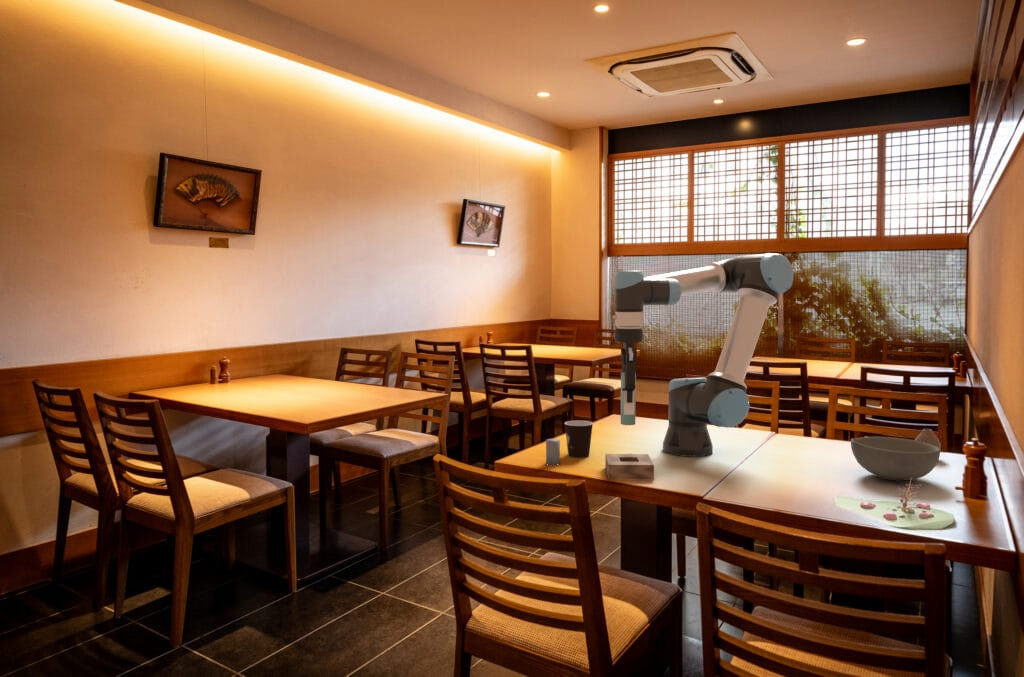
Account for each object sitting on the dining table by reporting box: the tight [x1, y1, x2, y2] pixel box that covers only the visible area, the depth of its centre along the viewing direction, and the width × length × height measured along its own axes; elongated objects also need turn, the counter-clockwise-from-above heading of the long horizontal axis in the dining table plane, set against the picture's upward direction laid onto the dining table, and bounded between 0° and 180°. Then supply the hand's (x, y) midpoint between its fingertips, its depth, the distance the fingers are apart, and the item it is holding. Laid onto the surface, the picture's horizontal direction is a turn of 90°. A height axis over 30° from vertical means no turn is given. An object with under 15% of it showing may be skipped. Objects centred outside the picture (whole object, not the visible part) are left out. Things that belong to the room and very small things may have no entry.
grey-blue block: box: [545, 438, 561, 466], centre depth 197 cm, size 4×4×7 cm
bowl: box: [850, 436, 941, 482], centre depth 178 cm, size 20×20×10 cm
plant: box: [833, 478, 955, 531], centre depth 152 cm, size 25×21×9 cm
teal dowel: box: [620, 372, 637, 426], centre depth 185 cm, size 4×4×14 cm
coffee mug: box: [564, 420, 594, 459], centre depth 208 cm, size 12×9×10 cm
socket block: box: [604, 453, 655, 481], centre depth 186 cm, size 12×12×4 cm
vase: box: [914, 428, 942, 452], centre depth 198 cm, size 7×7×9 cm
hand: (628, 412), depth 185 cm, fingers closed on teal dowel, 4 cm apart
